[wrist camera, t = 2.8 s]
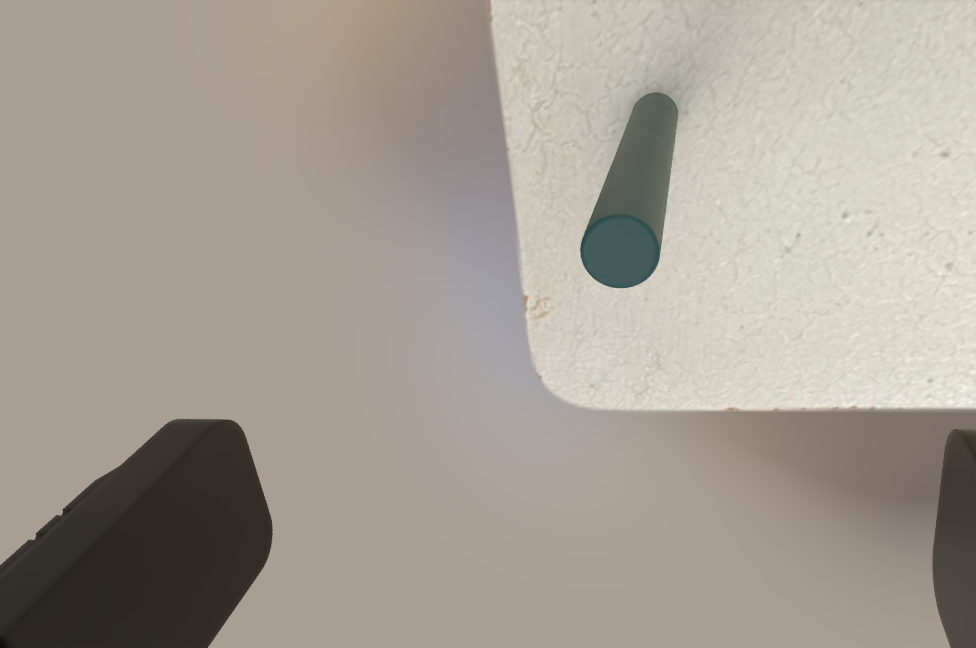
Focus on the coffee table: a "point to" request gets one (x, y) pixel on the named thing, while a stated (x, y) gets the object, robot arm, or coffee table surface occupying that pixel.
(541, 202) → the coffee table surface
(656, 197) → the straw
